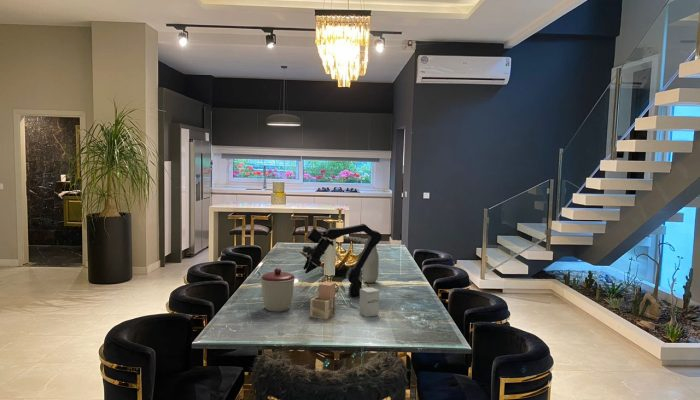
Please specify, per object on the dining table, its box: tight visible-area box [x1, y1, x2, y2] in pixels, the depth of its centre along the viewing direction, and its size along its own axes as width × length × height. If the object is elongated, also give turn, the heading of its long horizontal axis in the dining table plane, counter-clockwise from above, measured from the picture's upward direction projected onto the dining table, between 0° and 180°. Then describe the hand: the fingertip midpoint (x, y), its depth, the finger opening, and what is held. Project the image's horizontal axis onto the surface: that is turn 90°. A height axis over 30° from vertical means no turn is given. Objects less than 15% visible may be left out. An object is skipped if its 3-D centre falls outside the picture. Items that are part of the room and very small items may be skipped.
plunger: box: [318, 281, 336, 311], centre depth 249 cm, size 6×6×14 cm
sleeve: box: [309, 295, 335, 320], centre depth 245 cm, size 8×9×9 cm
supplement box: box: [358, 286, 380, 318], centre depth 248 cm, size 7×7×13 cm
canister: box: [259, 267, 296, 313], centre depth 254 cm, size 18×18×21 cm
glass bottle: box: [361, 237, 380, 284], centre depth 310 cm, size 10×10×28 cm
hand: (304, 271), depth 275 cm, fingers open, 9 cm apart
